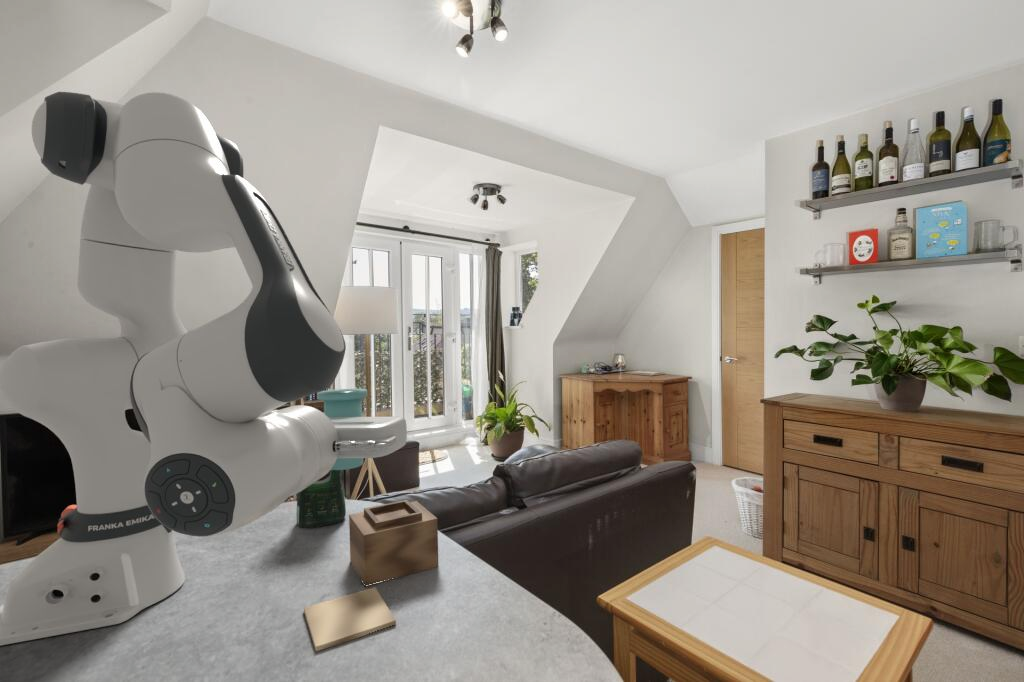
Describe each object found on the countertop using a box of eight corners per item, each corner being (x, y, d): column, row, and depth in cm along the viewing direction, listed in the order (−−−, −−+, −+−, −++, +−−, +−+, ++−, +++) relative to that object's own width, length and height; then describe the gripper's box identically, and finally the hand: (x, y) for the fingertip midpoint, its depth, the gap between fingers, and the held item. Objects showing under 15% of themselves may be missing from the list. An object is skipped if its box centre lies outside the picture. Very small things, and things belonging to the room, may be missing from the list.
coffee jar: (345, 510, 107) (343, 426, 106) (346, 524, 99) (343, 433, 99) (297, 517, 103) (295, 430, 103) (294, 531, 96) (291, 438, 96)
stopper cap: (319, 474, 62) (316, 395, 62) (319, 461, 68) (317, 390, 68) (371, 468, 64) (369, 392, 64) (367, 456, 70) (365, 387, 70)
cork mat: (316, 651, 59) (315, 646, 59) (303, 611, 68) (303, 607, 68) (395, 624, 65) (395, 620, 65) (375, 591, 73) (375, 587, 73)
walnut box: (365, 587, 74) (363, 528, 74) (350, 561, 83) (348, 508, 83) (438, 566, 81) (437, 512, 80) (417, 544, 89) (416, 495, 89)
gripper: (386, 417, 52) (420, 399, 66) (205, 419, 54) (275, 401, 67) (388, 476, 52) (421, 445, 66) (207, 476, 54) (276, 446, 67)
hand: (346, 423), depth 67 cm, fingers closed on stopper cap, 5 cm apart
